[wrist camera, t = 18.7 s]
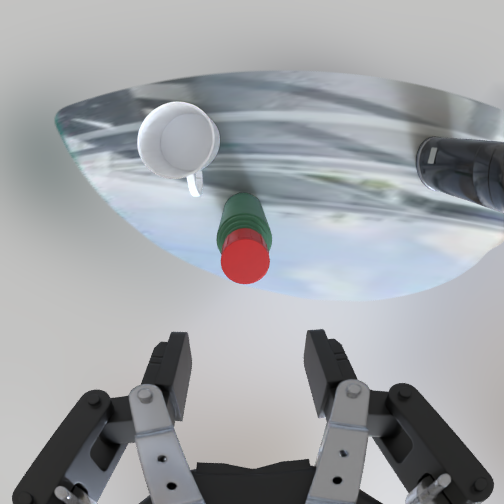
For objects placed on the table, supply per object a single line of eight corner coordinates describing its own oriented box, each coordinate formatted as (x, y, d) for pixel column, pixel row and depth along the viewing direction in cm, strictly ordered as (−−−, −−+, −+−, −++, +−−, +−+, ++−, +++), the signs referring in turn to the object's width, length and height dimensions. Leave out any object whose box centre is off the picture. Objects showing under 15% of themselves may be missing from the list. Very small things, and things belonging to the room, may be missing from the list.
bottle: (262, 192, 42) (279, 227, 24) (262, 229, 44) (277, 289, 25) (223, 192, 42) (210, 227, 23) (224, 230, 44) (213, 290, 25)
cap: (266, 227, 26) (270, 238, 23) (266, 268, 28) (269, 283, 25) (222, 228, 26) (219, 239, 23) (223, 269, 28) (221, 284, 25)
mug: (156, 116, 37) (134, 108, 29) (218, 108, 37) (211, 96, 29) (164, 195, 41) (144, 208, 33) (224, 189, 42) (219, 200, 33)
